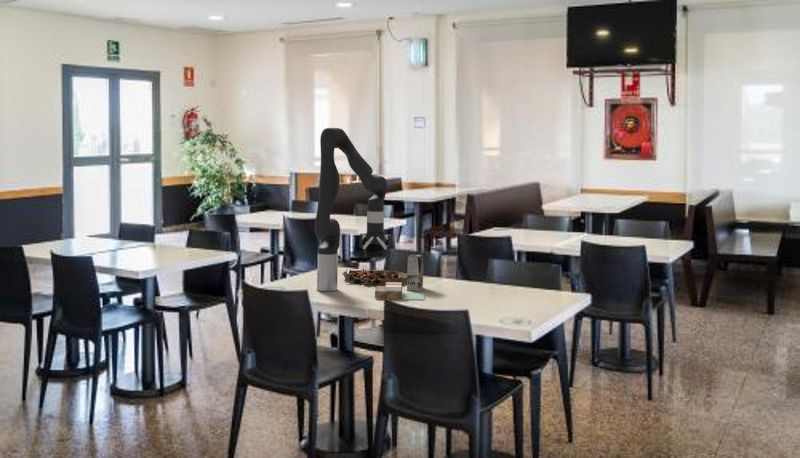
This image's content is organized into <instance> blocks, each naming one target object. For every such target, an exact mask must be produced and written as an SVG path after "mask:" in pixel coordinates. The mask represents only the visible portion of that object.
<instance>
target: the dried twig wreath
mask: <svg viewBox="0 0 800 458" xmlns="http://www.w3.org/2000/svg"><path fill="white" fill-rule="evenodd" d="M341 274H342V275H343V277H344V280H343V281H345V282H346V283H347V284H349V285H353V284H355V286H357V285H356V284H360V285H359V286H362V285H364V286H363V287H376V286H386V282H398V283H402V287H404V286H407V272H401V271H395V270H386V269H385V270H382V269H381V270H380V269H376V270H375V269H372V268H370V269H369V270H368V269H365V268H364V267H363V268H362V269H360V270H359V269H357V270H352V269H350V270H349V271H348V269H346V270H345V271H343V272H341Z"/></svg>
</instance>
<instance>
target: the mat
mask: <svg viewBox="0 0 800 458" xmlns="http://www.w3.org/2000/svg"><path fill="white" fill-rule="evenodd" d="M402 300H404V301H425V293H424V292H423V293H422V292H402Z"/></svg>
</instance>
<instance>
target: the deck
mask: <svg viewBox="0 0 800 458" xmlns="http://www.w3.org/2000/svg"><path fill="white" fill-rule="evenodd" d="M375 298H380V299H379V300H384V299H383V298H389V299H388V300H403V288H402V289H401V291H386V286H375V289H374V299H375Z"/></svg>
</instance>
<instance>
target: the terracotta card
mask: <svg viewBox="0 0 800 458" xmlns="http://www.w3.org/2000/svg"><path fill="white" fill-rule="evenodd" d="M386 285H402V283H398V282H386ZM401 289H402V290H403V286H402V287H401Z"/></svg>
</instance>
